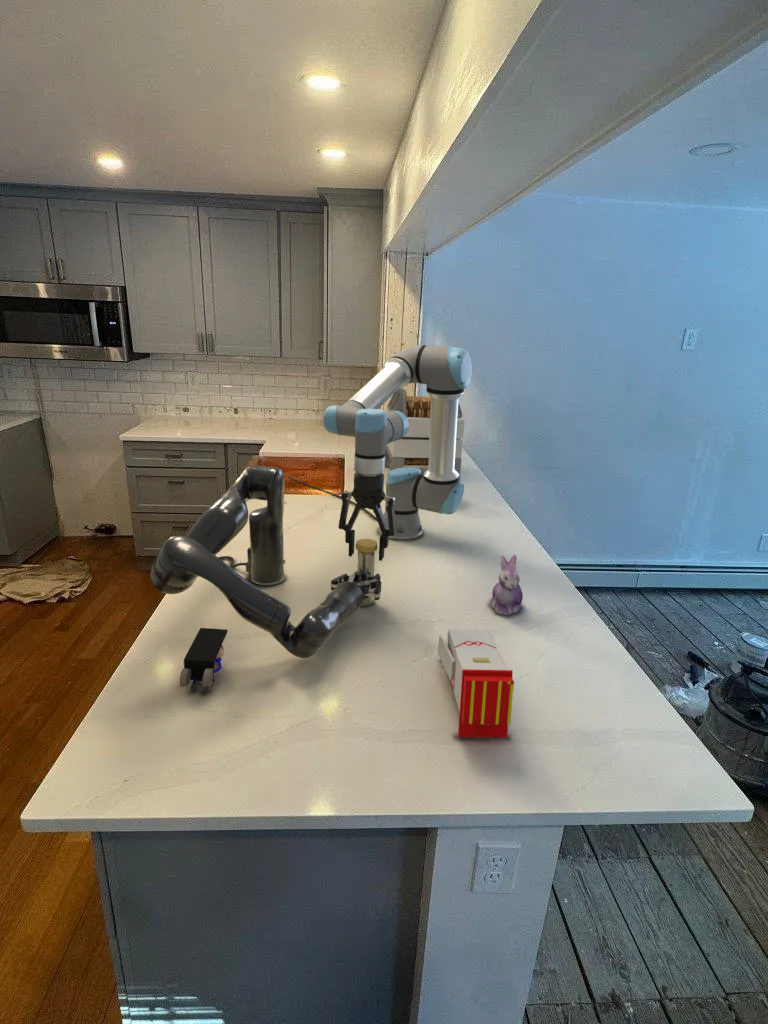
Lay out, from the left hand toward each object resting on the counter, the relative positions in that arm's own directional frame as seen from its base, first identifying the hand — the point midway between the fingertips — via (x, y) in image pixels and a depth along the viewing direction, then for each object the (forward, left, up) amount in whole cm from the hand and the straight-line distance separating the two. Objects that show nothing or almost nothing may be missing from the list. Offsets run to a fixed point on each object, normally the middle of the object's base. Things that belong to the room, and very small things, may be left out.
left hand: (369, 575), depth 153 cm
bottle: (0, -3, -7) cm, 7 cm away
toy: (+35, -28, -7) cm, 46 cm away
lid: (0, -3, +10) cm, 10 cm away
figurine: (+36, +11, -7) cm, 38 cm away
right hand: (0, -3, +7) cm, 7 cm away
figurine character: (-17, -47, -7) cm, 50 cm away
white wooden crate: (-27, +126, -7) cm, 129 cm away
